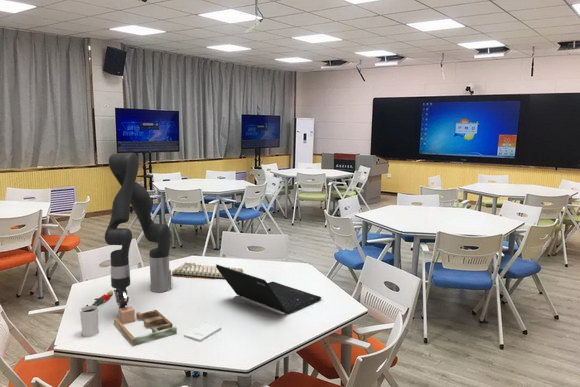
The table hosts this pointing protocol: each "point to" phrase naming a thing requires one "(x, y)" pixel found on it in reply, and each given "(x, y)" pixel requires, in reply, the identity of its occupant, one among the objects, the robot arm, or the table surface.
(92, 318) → the drinking glass
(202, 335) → the external hard drive
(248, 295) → the laptop
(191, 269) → the mechanical keyboard
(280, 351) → the table surface
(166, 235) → the robot arm
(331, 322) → the table surface
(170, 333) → the brown frame
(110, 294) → the person figure
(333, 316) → the table surface
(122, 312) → the clay block
